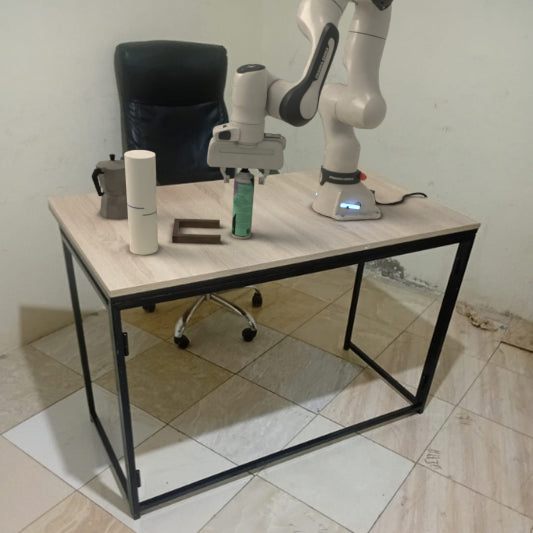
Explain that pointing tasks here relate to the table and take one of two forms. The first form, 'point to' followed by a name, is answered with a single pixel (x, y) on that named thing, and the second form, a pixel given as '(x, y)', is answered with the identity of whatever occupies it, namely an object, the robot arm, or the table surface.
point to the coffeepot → (111, 187)
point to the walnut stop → (195, 237)
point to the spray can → (242, 204)
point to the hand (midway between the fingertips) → (244, 183)
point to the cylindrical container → (141, 201)
